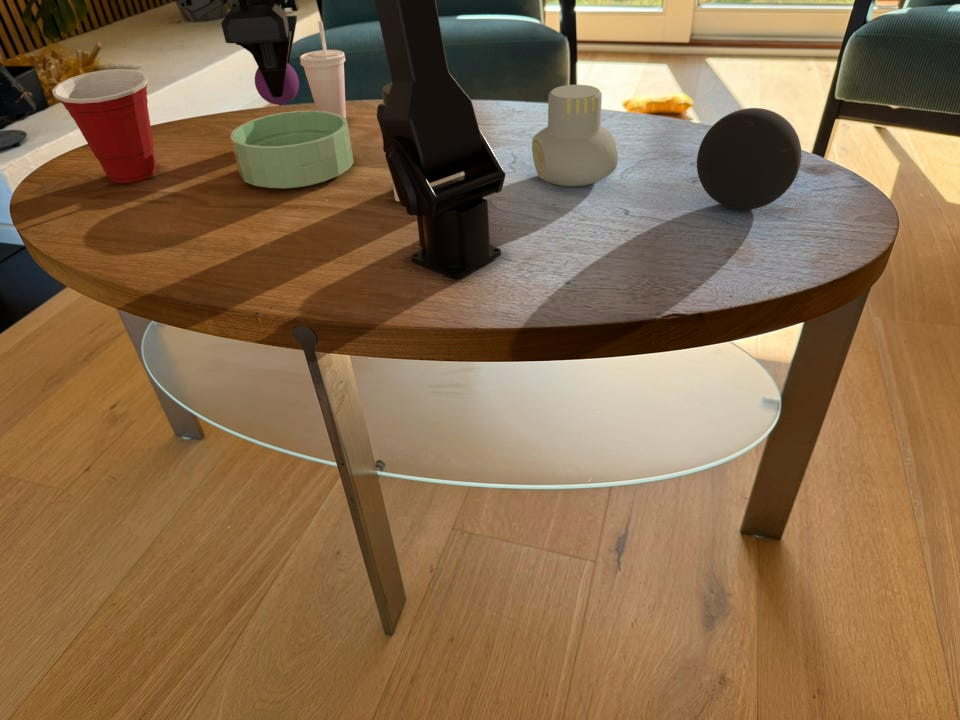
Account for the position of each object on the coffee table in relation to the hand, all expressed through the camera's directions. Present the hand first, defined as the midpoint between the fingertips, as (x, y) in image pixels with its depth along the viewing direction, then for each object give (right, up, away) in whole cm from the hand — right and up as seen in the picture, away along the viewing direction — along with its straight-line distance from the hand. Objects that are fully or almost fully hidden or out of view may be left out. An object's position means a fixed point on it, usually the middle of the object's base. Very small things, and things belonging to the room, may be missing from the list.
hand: (279, 90), depth 84 cm
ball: (0, +1, -1) cm, 1 cm away
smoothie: (+2, +4, +23) cm, 23 cm away
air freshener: (+35, -10, 0) cm, 36 cm away
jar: (+18, -12, -1) cm, 22 cm away
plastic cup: (-21, -8, +9) cm, 25 cm away
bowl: (+1, -8, +7) cm, 10 cm away
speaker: (+51, -16, -8) cm, 54 cm away
